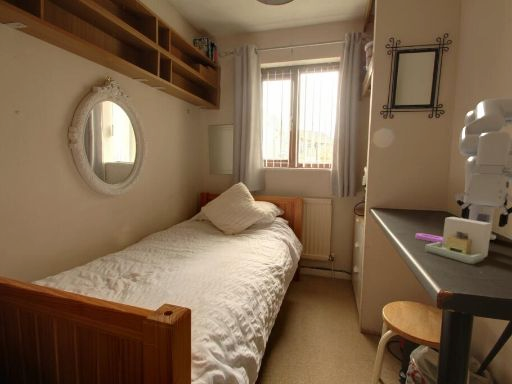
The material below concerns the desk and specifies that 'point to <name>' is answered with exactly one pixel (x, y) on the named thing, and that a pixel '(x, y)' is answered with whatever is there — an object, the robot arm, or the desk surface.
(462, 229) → the block
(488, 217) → the grey upright plate
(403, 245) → the desk surface
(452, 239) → the block
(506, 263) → the desk surface
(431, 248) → the tray
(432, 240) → the bracket
